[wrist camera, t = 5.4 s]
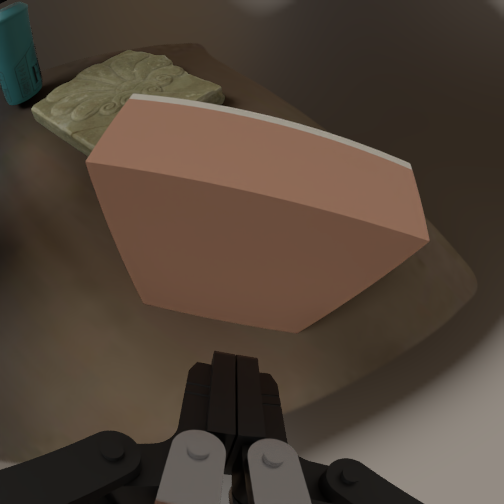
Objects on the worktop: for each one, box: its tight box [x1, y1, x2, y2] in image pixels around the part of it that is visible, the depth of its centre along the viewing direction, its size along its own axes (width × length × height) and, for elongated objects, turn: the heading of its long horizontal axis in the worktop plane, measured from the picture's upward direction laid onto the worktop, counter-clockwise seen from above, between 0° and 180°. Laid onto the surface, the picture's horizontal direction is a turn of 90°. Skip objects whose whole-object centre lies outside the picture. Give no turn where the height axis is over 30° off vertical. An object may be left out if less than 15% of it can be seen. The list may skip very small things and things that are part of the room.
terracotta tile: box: [85, 94, 429, 333], centre depth 16 cm, size 4×12×15 cm, turn 83°
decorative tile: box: [31, 50, 225, 157], centre depth 30 cm, size 19×20×4 cm
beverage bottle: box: [0, 0, 43, 105], centre depth 20 cm, size 6×7×20 cm
